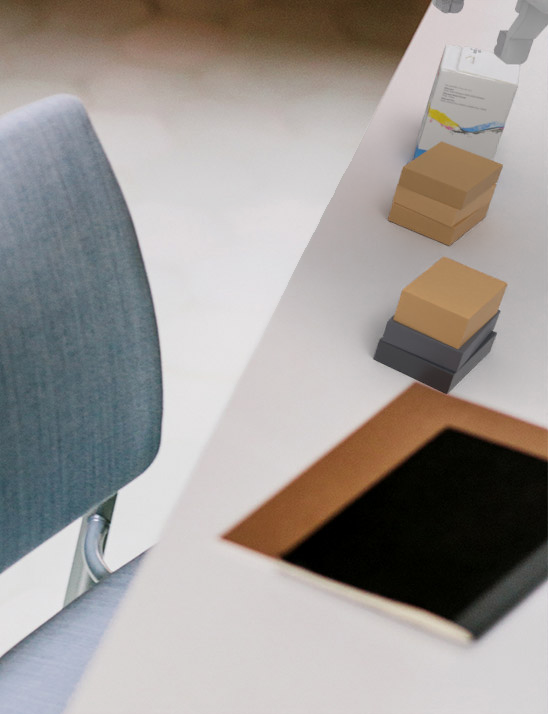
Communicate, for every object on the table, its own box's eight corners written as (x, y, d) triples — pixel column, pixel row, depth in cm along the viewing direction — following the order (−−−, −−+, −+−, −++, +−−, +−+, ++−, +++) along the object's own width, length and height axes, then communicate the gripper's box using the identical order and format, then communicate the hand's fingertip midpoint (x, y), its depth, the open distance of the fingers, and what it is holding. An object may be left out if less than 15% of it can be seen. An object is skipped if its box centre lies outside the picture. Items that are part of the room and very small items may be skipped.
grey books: (491, 350, 105) (505, 312, 102) (447, 394, 99) (461, 355, 97) (417, 317, 108) (430, 279, 106) (370, 357, 102) (382, 318, 100)
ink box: (486, 186, 131) (521, 83, 124) (409, 169, 132) (439, 66, 125) (489, 155, 137) (522, 56, 130) (416, 139, 139) (445, 40, 131)
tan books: (486, 217, 125) (504, 164, 121) (449, 247, 119) (467, 192, 115) (424, 192, 128) (440, 140, 124) (385, 220, 122) (400, 166, 118)
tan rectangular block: (497, 313, 102) (508, 283, 100) (458, 349, 97) (468, 319, 95) (434, 285, 105) (443, 255, 103) (392, 320, 100) (402, 289, 98)
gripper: (680, -137, 68) (594, 94, 77) (507, -216, 83) (451, -15, 92) (584, -141, 67) (508, 95, 75) (425, -221, 82) (377, -16, 90)
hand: (475, 34), depth 84 cm, fingers open, 8 cm apart
